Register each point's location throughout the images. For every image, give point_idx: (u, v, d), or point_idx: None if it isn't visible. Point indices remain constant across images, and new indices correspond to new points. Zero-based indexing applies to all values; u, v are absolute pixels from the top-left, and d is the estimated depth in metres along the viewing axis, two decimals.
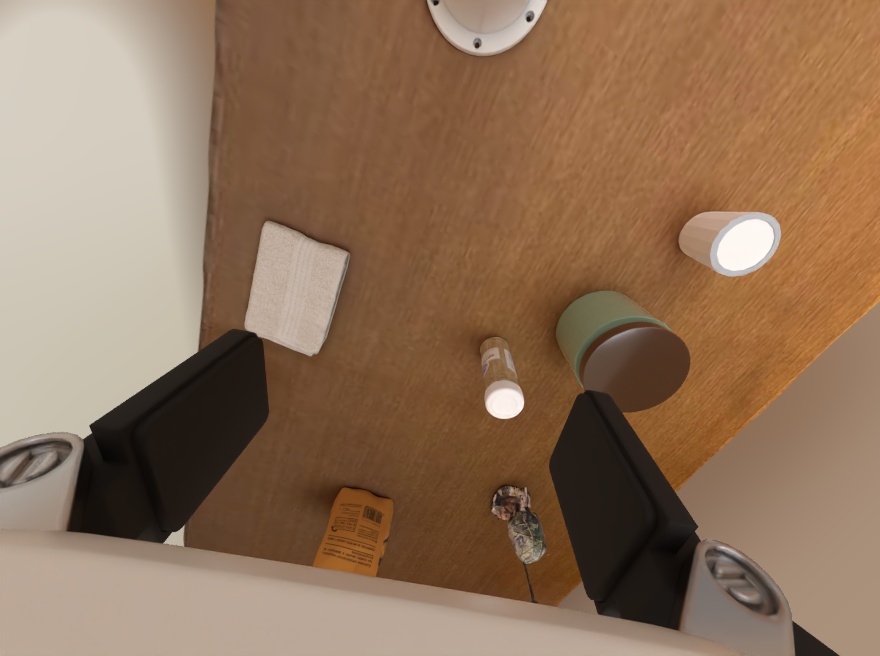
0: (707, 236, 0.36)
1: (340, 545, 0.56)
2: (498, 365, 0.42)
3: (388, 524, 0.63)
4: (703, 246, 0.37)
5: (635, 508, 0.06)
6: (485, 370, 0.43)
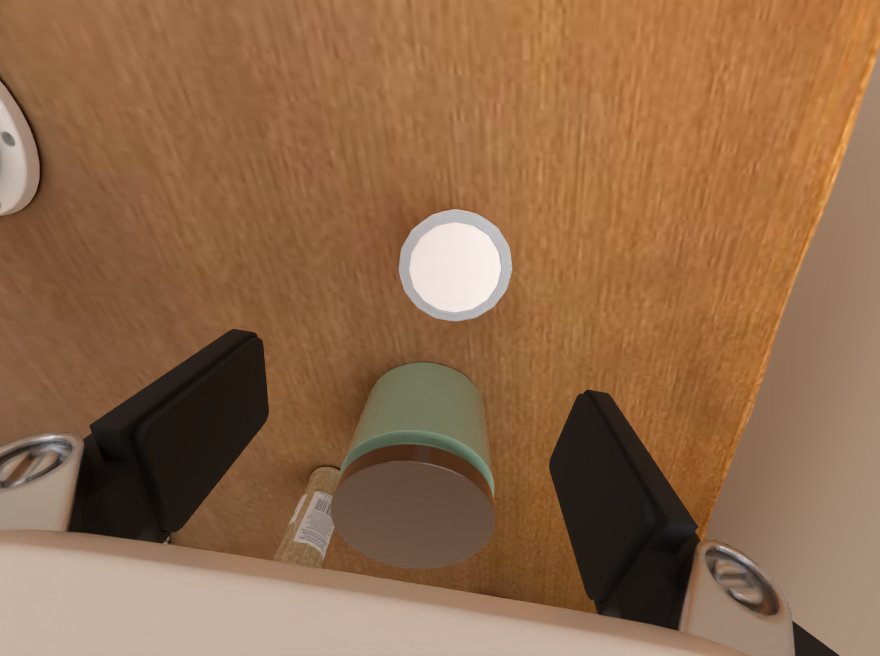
0: None
1: None
2: (284, 539, 0.30)
3: None
4: None
5: (635, 508, 0.06)
6: None
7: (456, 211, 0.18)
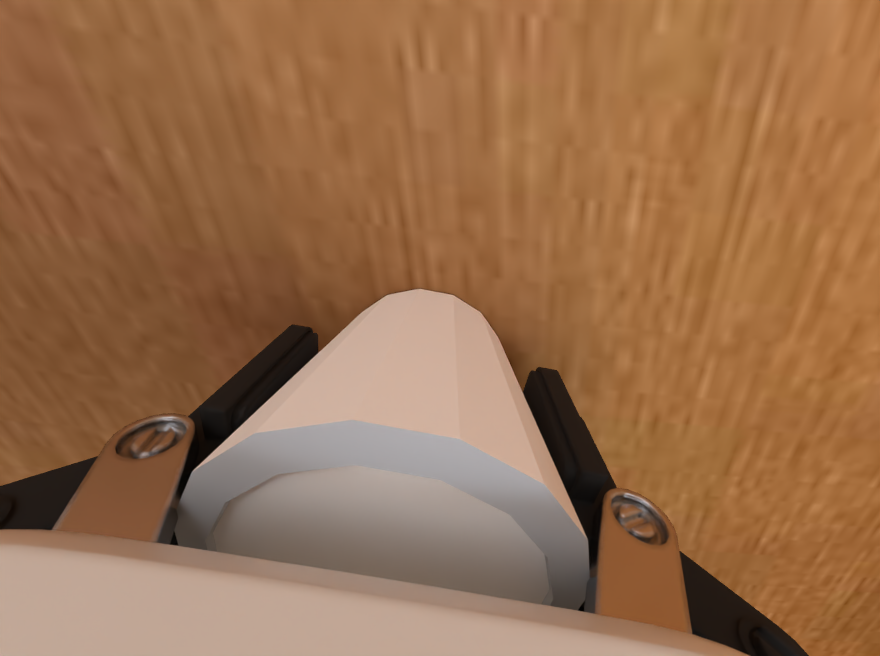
0: None
1: None
2: None
3: None
4: None
5: (559, 463, 0.07)
6: None
7: (361, 426, 0.04)
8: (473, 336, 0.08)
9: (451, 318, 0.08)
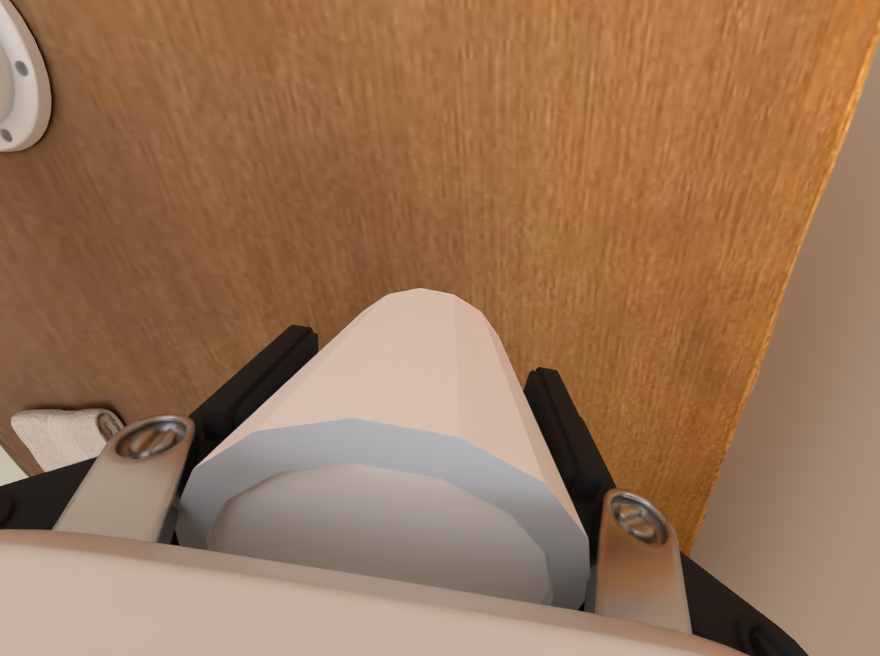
0: None
1: None
2: None
3: None
4: None
5: (559, 463, 0.07)
6: None
7: (362, 424, 0.04)
8: (474, 335, 0.08)
9: (452, 317, 0.08)
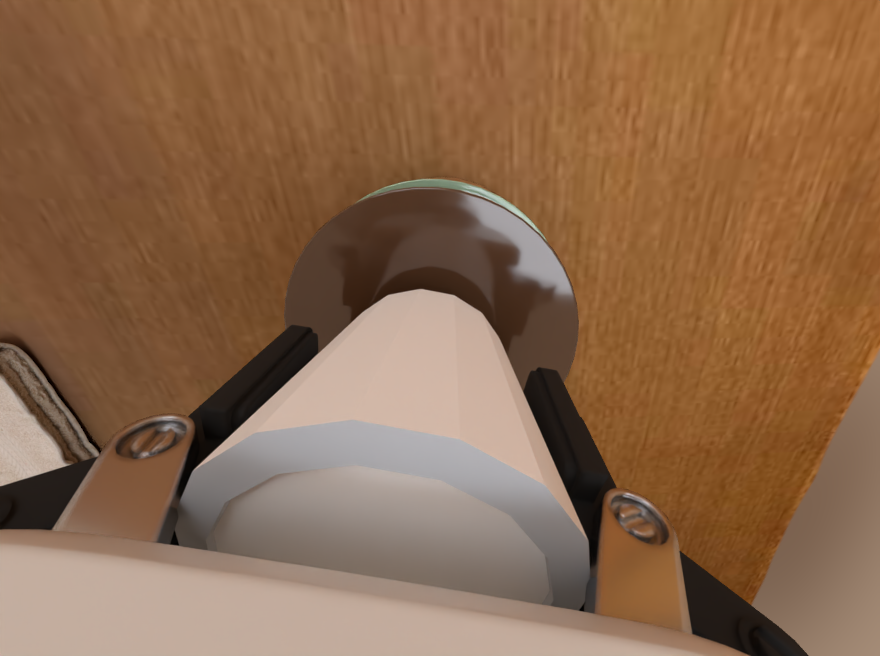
0: None
1: None
2: None
3: None
4: None
5: (559, 463, 0.07)
6: None
7: (361, 426, 0.04)
8: (474, 336, 0.08)
9: (452, 318, 0.08)
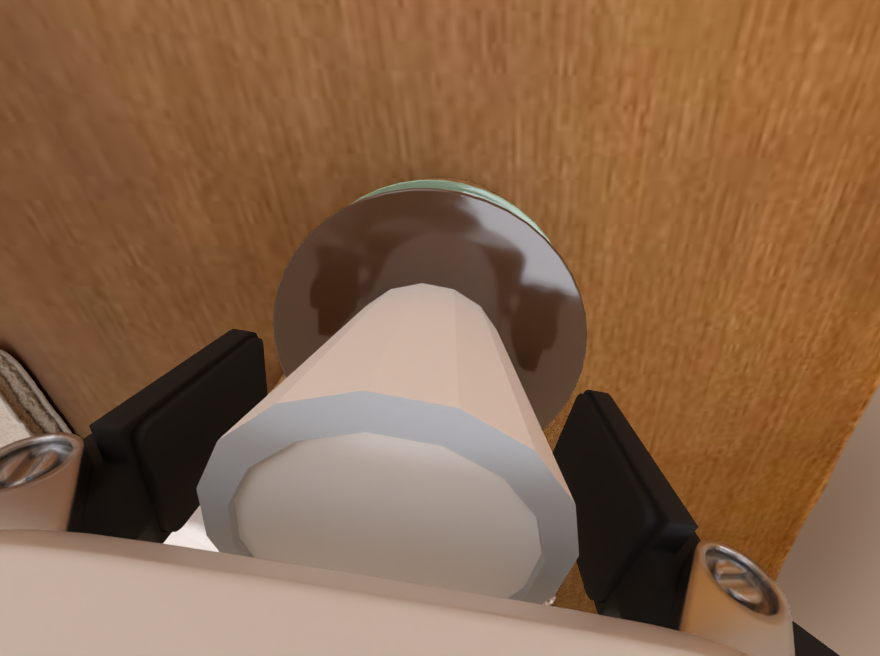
0: None
1: None
2: None
3: None
4: None
5: (635, 508, 0.06)
6: None
7: (371, 396, 0.04)
8: (472, 326, 0.08)
9: (452, 309, 0.09)
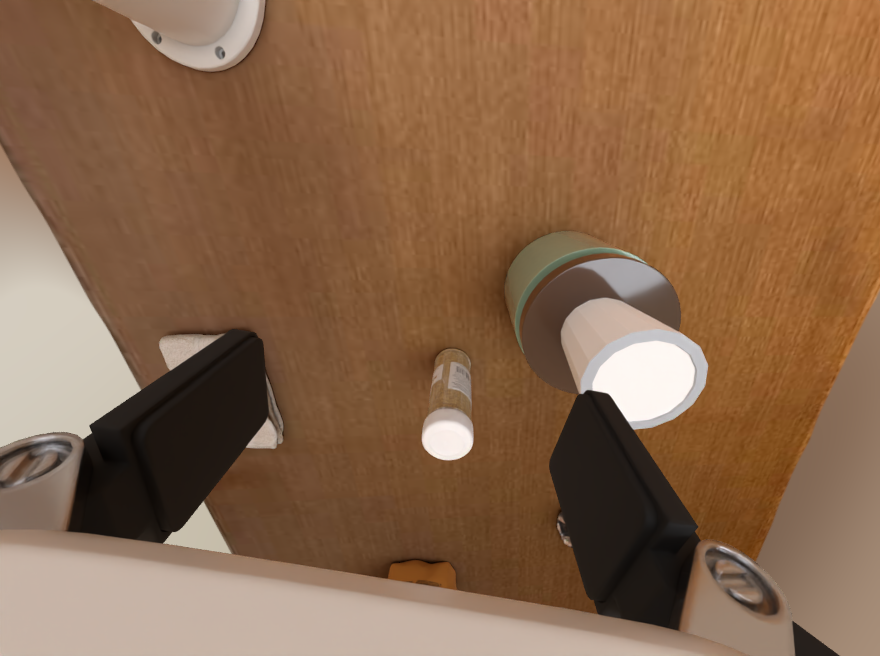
0: (575, 378, 0.21)
1: None
2: (437, 389, 0.32)
3: None
4: None
5: (635, 508, 0.06)
6: (429, 400, 0.34)
7: (659, 330, 0.17)
8: None
9: (636, 309, 0.22)
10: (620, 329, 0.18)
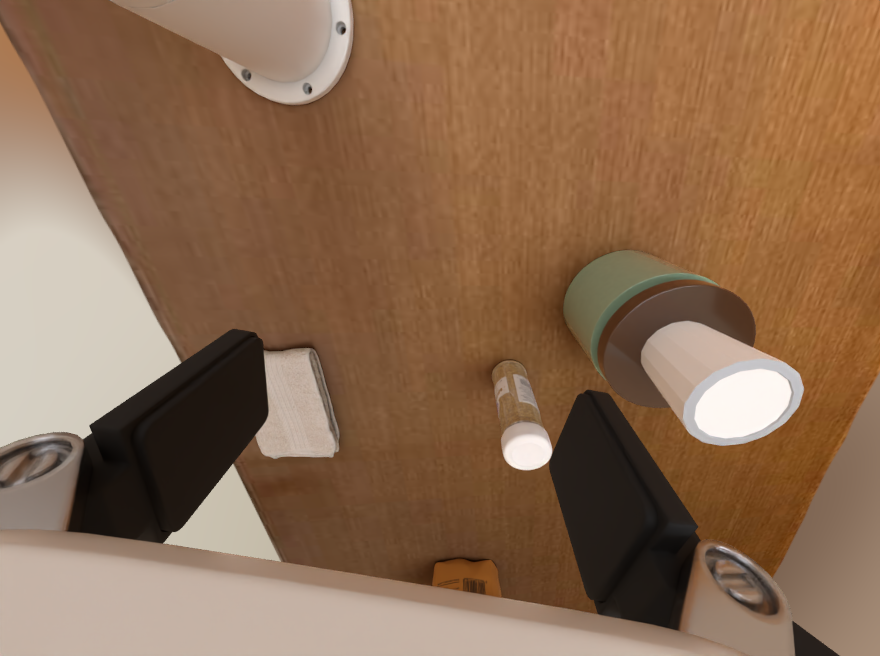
0: (672, 399, 0.22)
1: None
2: (508, 402, 0.34)
3: (495, 591, 0.55)
4: (675, 411, 0.23)
5: (635, 508, 0.06)
6: (498, 412, 0.36)
7: (764, 359, 0.19)
8: None
9: (723, 334, 0.23)
10: (723, 357, 0.20)
